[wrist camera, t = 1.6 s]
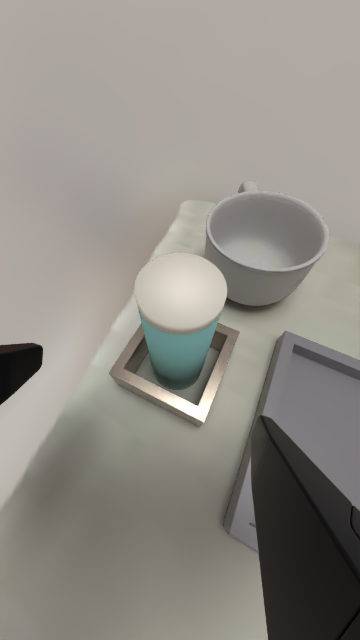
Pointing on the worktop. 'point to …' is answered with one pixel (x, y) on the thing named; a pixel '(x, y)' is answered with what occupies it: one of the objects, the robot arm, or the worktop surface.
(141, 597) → the worktop surface
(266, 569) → the robot arm
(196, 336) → the canister
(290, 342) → the tray
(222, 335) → the square metallic frame
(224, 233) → the teacup
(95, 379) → the worktop surface
